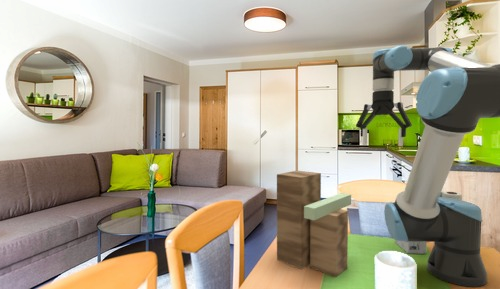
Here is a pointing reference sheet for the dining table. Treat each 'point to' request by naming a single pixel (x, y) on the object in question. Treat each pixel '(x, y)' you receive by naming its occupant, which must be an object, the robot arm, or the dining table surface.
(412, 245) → the light bulb box
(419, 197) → the robot arm
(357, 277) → the dining table surface
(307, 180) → the walnut stand
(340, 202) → the sage bar
